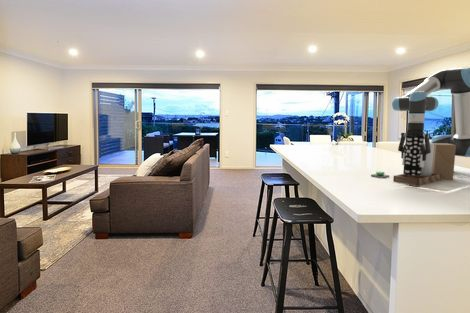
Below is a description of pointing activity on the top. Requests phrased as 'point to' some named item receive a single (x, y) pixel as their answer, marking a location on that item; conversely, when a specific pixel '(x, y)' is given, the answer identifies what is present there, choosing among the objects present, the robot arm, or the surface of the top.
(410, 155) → the spotted tube
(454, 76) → the robot arm
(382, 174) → the button
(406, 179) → the divided wooden tray
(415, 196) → the top surface
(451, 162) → the wooden block
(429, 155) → the seated billet
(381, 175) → the button housing
